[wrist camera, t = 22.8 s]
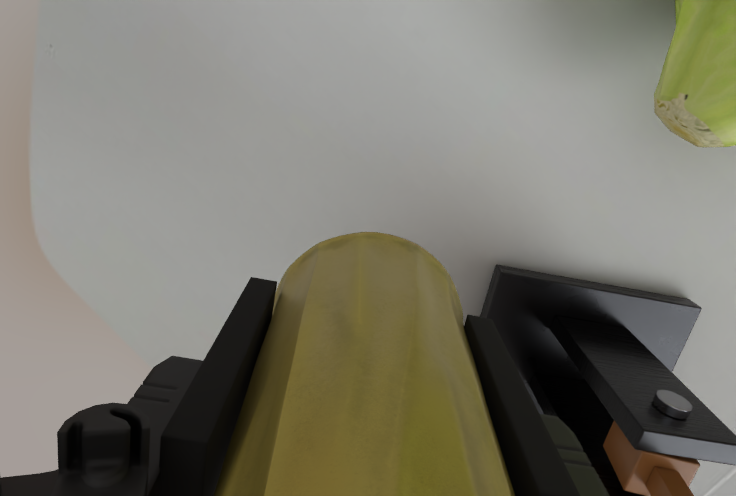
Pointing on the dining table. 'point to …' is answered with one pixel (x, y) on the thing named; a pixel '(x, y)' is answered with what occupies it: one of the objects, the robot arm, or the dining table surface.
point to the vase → (365, 383)
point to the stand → (606, 365)
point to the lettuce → (700, 74)
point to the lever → (648, 468)
